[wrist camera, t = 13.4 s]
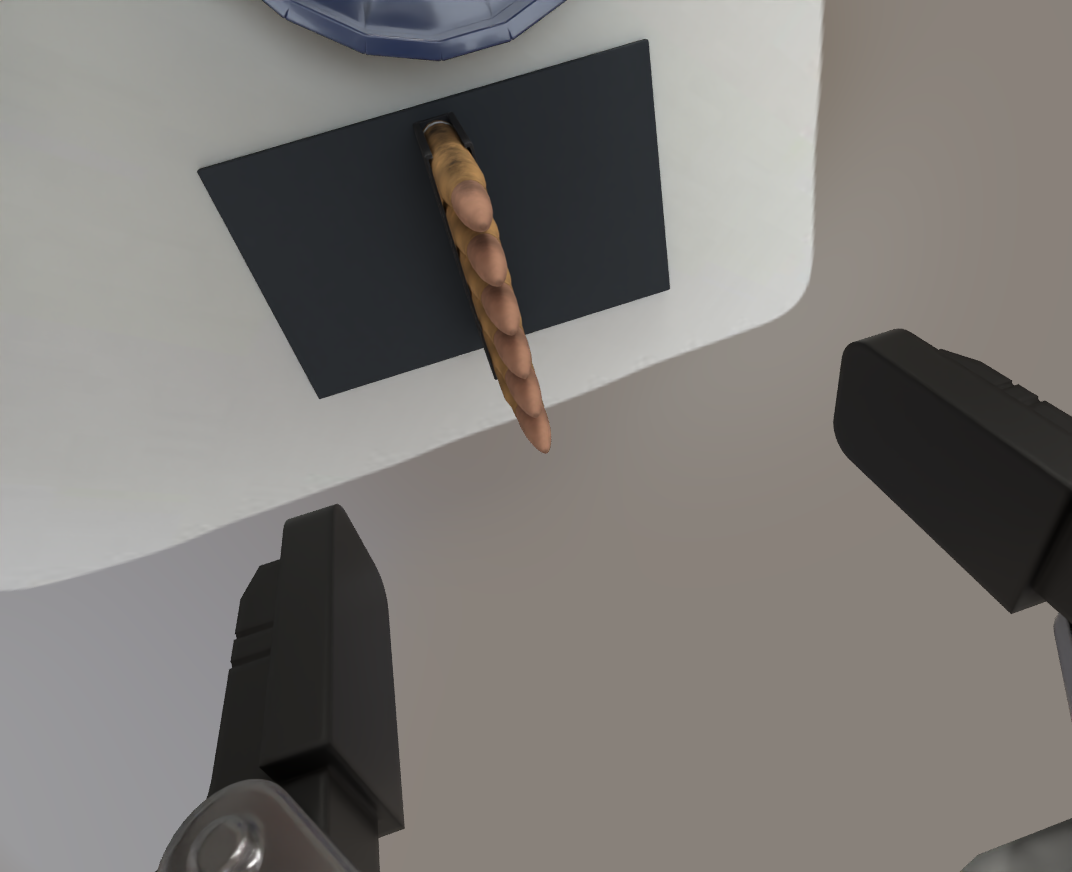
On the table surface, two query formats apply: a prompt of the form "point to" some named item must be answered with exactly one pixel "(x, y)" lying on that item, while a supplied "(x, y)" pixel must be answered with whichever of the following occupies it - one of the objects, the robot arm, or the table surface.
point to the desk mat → (418, 230)
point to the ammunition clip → (483, 267)
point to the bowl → (416, 24)
